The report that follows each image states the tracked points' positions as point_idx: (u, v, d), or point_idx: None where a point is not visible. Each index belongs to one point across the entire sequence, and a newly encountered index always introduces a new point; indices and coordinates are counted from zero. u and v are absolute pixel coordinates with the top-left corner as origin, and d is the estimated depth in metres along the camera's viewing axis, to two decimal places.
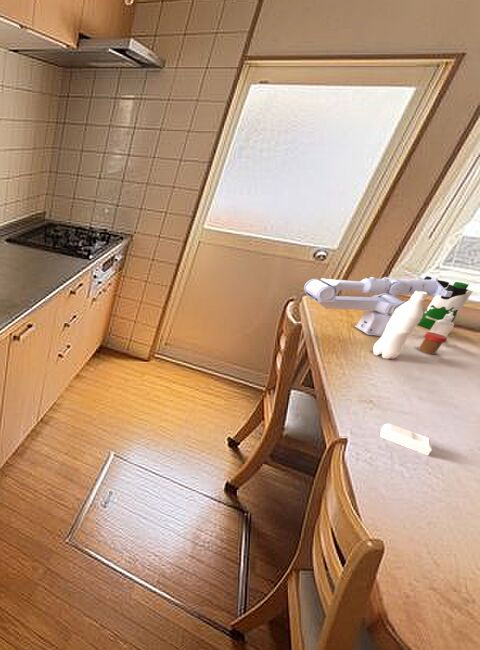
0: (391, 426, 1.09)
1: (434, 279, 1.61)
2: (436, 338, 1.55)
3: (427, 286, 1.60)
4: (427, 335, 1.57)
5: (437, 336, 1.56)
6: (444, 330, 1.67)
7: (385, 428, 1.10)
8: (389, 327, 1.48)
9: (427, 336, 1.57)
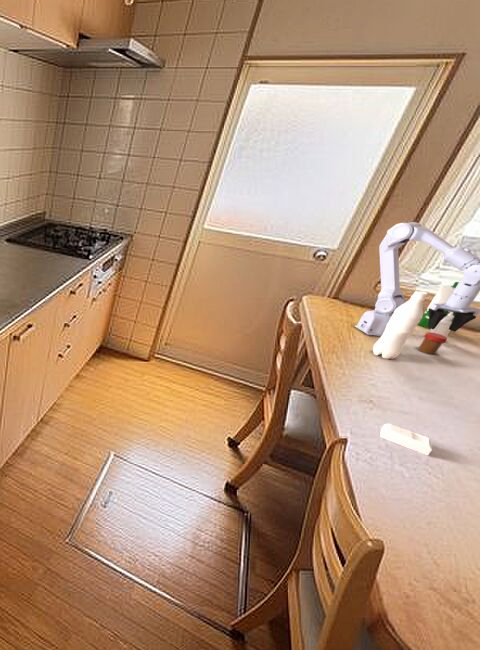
0: (391, 426, 1.09)
1: (463, 310, 1.48)
2: (436, 338, 1.55)
3: (456, 299, 1.49)
4: (427, 335, 1.57)
5: (437, 336, 1.56)
6: (444, 330, 1.67)
7: (385, 428, 1.10)
8: (389, 327, 1.48)
9: (427, 336, 1.57)
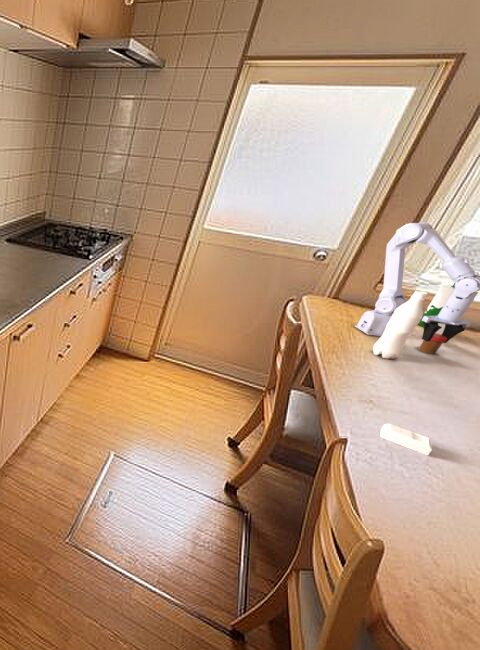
0: (391, 426, 1.09)
1: (455, 322, 1.51)
2: (436, 338, 1.55)
3: (448, 311, 1.51)
4: None
5: (437, 336, 1.56)
6: None
7: (385, 428, 1.10)
8: (389, 327, 1.48)
9: None
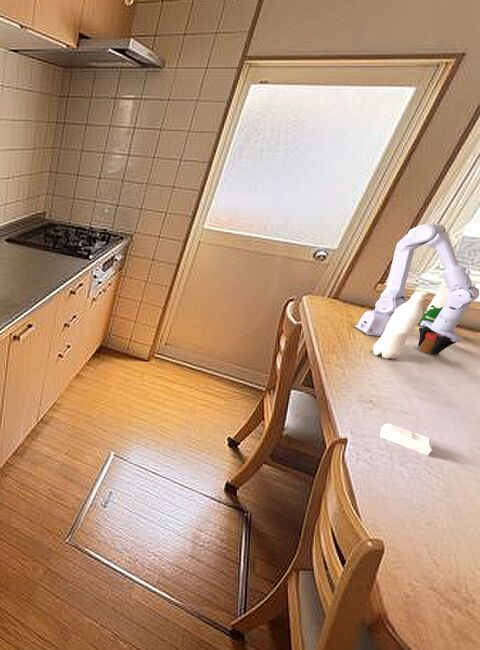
0: (391, 426, 1.09)
1: None
2: None
3: (456, 324, 1.52)
4: None
5: (441, 336, 1.56)
6: None
7: (385, 428, 1.10)
8: (389, 327, 1.48)
9: None
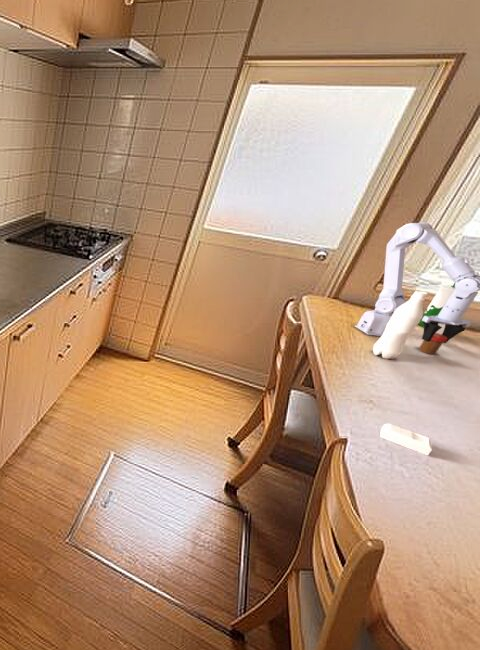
0: (391, 426, 1.09)
1: (455, 322, 1.51)
2: None
3: (448, 311, 1.51)
4: (441, 339, 1.54)
5: (441, 336, 1.56)
6: None
7: (385, 428, 1.10)
8: (389, 327, 1.48)
9: (442, 340, 1.55)
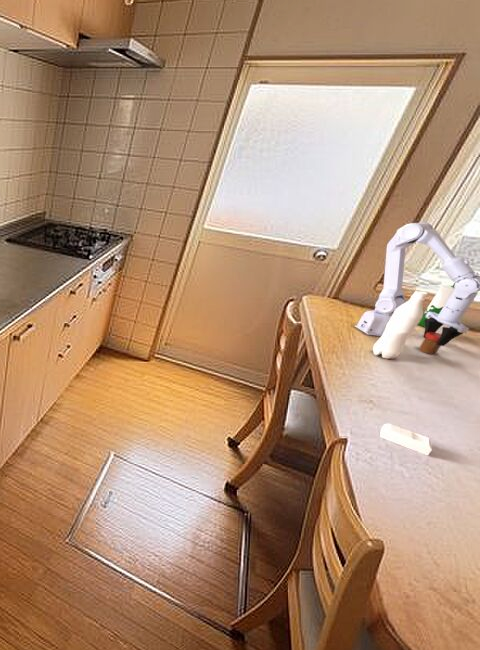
0: (391, 426, 1.09)
1: (458, 321, 1.53)
2: None
3: None
4: None
5: (437, 334, 1.57)
6: None
7: (385, 428, 1.10)
8: (389, 327, 1.48)
9: None
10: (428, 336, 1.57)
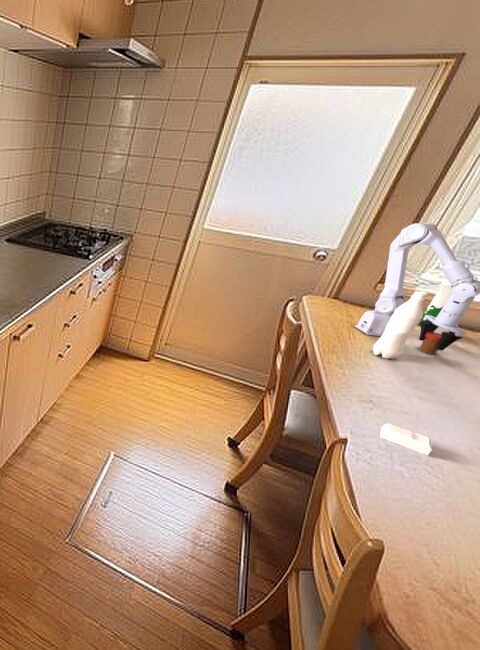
0: (391, 426, 1.09)
1: None
2: None
3: (460, 318, 1.50)
4: None
5: (437, 334, 1.57)
6: (444, 330, 1.67)
7: (385, 428, 1.10)
8: (389, 327, 1.48)
9: None
10: (428, 336, 1.57)
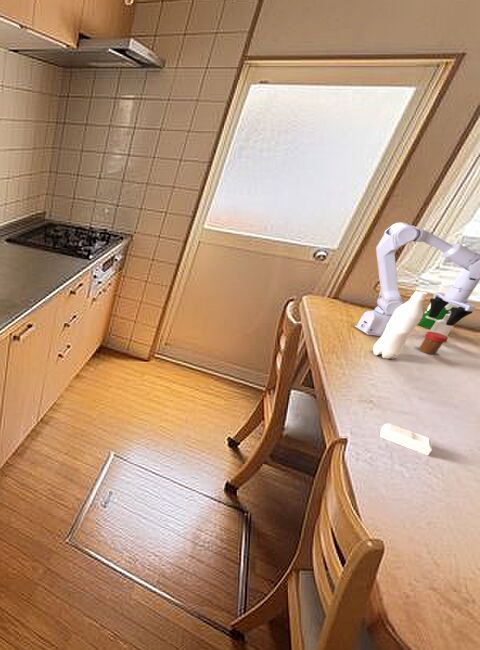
0: (391, 426, 1.09)
1: None
2: None
3: (469, 294, 1.54)
4: None
5: (437, 334, 1.57)
6: (444, 330, 1.67)
7: (385, 428, 1.10)
8: (389, 327, 1.48)
9: None
10: (428, 336, 1.57)
